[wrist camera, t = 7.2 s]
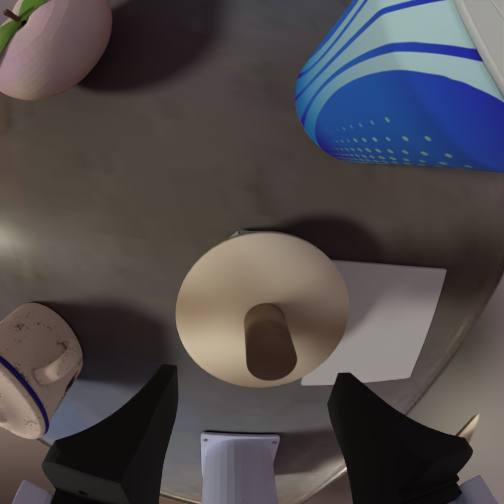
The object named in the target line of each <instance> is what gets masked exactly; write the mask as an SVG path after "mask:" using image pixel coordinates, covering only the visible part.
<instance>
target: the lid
mask: <svg viewBox="0 0 504 504" xmlns="http://www.w3.org/2000/svg"><path fill="white" fill-rule="evenodd" d="M348 317H349V297H348V291H347V288H346V284H345V282H344V279H343V277H342V275H341V273H340V272H339V270H338V269H337V267H336V266H335V264H334V263H333V262H332V261H331V260H330V259H329V258H328V257H327V256H326V255H325V254H324V253H323V252H322V251H321V250H320V249H318V248H317V247H316V246H315V245H313V244H311V243H310V242H308V241H306V240H304V239H302V238H299V237H297V236H295V235H291V234H287V233H283V232H276V231H255V232H247V233H243V234H239V235H236V236H233V237H231V238H228V239H226V240H223V241H222V242H220V243H218V244H216V245H215V246H213V247H212V248H210V249H209V250H208V251H207V252H205V253H204V254H203V255H202V256H201V257H200V258H199V259H198V260H197V261H196V262H195V263H194V265H193V266H192V268H191V269H190V270H189V272H188V274H187V276H186V278H185V279H184V281H183V284H182V286H181V289H180V292H179V295H178V299H177V304H176V324H177V329H178V333H179V336H180V339H181V341H182V343H183V345H184V347H185V349H186V350H187V352H188V353H189V355H190V356H191V357H192V358H193V360H194V361H195V362H196V363H197V364H198V365H199V366H200V367H202V368H203V369H204V370H206V371H207V372H208V373H210V374H211V375H213V376H215V377H217V378H219V379H221V380H224V381H226V382H229V383H232V384H236V385H240V386H246V387H271V386H278V385H282V384H286V383H289V382H292V381H295V380H297V379H299V378H301V377H303V376H305V375H307V374H309V373H310V372H312V371H314V370H315V369H316V368H318V367H319V366H320V365H321V364H323V363H324V362H325V361H326V360H327V359H328V358H329V357H330V355H331V354H332V353H333V352H334V350H335V349H336V348H337V346H338V344H339V343H340V341H341V339H342V337H343V335H344V332H345V329H346V326H347V323H348Z"/></svg>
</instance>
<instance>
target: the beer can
mask: <svg viewBox="0 0 504 504" xmlns="http://www.w3.org/2000/svg"><path fill="white" fill-rule="evenodd" d="M295 104H296V110H297V114H298V116H299V119H300V122H301V124H302V126H303V127H304V129H305V131H306V132H307V134H308V135H309V137H310V138H311V139H312V140H313V141H314V142H315V143H316V144H317V145H318V146H319V147H320V148H321V149H322V150H324V151H325V152H327V153H328V154H330V155H331V156H333V157H335V158H337V159H340V160H343V161H346V162H350V163H356V164H397V165H420V166H437V167H450V168H462V169H473V170H482V171H491V172H501V173H504V0H353V2H352V3H351V4H350V5H349V7H348V8H347V9H346V11H345V12H344V13H343V14H342V16H341V17H340V18H339V20H338V21H337V22H336V23H335V25H334V26H333V27H332V29H331V30H330V31H329V33H328V34H327V35H326V37H325V38H324V39H323V41H322V42H321V44H320V45H319V46H318V48H317V49H316V50H315V52H314V53H313V55H312V56H311V57H310V59H309V60H308V61H307V63H306V64H305V66H304V67H303V68H302V70H301V72H300V74H299V76H298V79H297V82H296V88H295Z"/></svg>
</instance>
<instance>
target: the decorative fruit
mask: <svg viewBox="0 0 504 504" xmlns="http://www.w3.org/2000/svg"><path fill="white" fill-rule="evenodd" d="M3 13H4V15H6V16H8V17H10V18H9V19H8V20H7V21H6V22H4V23H3V24H2V25H1V26H0V91H1V92H2V93H4V94H6V95H8V96H11V97H14V98H17V99H22V100H40V99H45V98H49V97H52V96H55V95H58V94H60V93H62V92H64V91H66V90H68V89H69V88H71V87H73V86H74V85H76V84H77V83H79V82H80V81H81V80H82V79H83V78H84V77H85V76H86V75H87V74H88V73H89V72H90V71H91V70H92V69H93V67H94V66H95V65H96V64H97V62H98V61H99V59H100V58H101V56H102V55H103V53H104V51H105V49H106V47H107V45H108V42H109V39H110V35H111V29H112V12H111V7H110V4H109V1H108V0H18V2H17V3H16V6H15V7H14V9H13V12H11V11H10V10H8V9H6V10H5V11H4V12H3Z"/></svg>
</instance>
